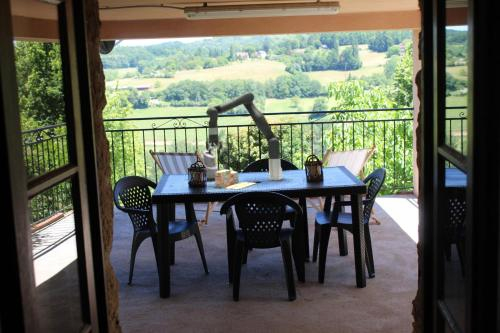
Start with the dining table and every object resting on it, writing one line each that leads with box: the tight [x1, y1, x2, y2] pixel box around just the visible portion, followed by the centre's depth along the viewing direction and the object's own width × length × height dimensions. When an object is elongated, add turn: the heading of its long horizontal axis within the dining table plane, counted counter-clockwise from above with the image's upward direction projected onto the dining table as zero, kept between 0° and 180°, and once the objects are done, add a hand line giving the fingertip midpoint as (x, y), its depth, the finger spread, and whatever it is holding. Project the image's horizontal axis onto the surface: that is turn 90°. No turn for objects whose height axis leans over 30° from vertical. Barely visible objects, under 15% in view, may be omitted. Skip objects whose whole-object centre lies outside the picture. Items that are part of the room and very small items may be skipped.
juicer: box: [189, 150, 219, 183], centre depth 567 cm, size 30×16×24 cm, turn 49°
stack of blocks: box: [214, 169, 240, 189], centre depth 536 cm, size 21×6×12 cm, turn 143°
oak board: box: [223, 181, 257, 190], centre depth 530 cm, size 14×26×1 cm, turn 151°
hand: (214, 154), depth 537 cm, fingers open, 7 cm apart
